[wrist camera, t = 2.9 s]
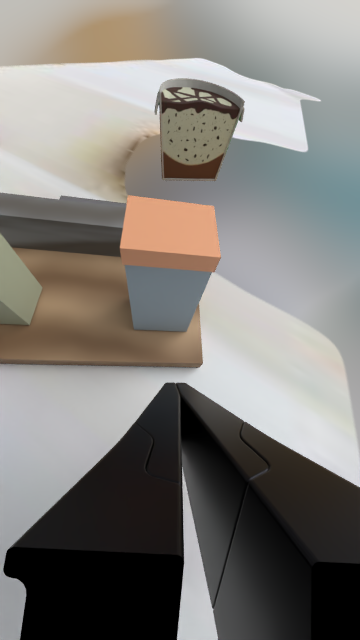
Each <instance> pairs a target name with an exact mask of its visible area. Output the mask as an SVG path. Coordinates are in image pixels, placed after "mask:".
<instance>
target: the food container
mask: <svg viewBox="0 0 360 640" xmlns="http://www.w3.org/2000/svg"><path fill="white" fill-rule="evenodd" d="M244 102H245V101H244V100H243V99H242V98H241V97H240V96H238V95H237V94H235V93H234V92H232V91H230V90H228V89H226V88H224V87H222V86H219V85H216V84H213V83H210V82H206V81H202V80H196V79H187V78H178V79H171V80H167V81H165V82H163V83H162V84H161V86H160V90H159V92H158V94H157V100H156V105H155V115H156V114H157V109H158V105H159V108H160V135H161V162H162V179H163V180H187V181H188V180H190V181H216V179H217V176H218V173H219V171H220V168H221V165H222V162H223V160H224V157H225V154H226V152H227V149H228V146H229V144H230V141H231V138H232V136H233V133H234V130H235V128H236V125H237V122H238V120H240V122H242V120H243V114H244V107H243V106H244Z"/></svg>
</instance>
